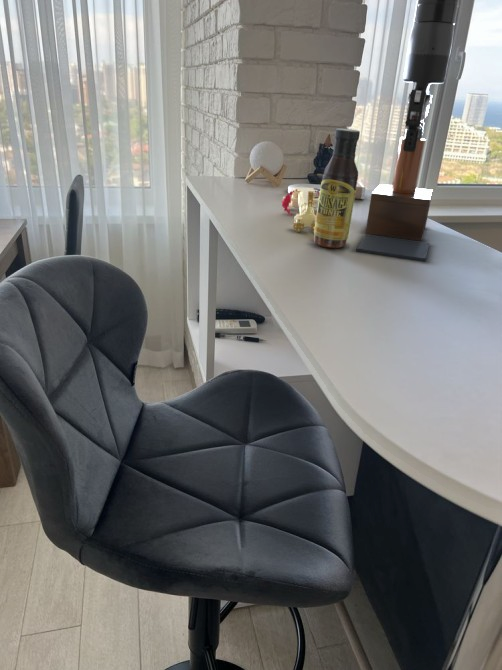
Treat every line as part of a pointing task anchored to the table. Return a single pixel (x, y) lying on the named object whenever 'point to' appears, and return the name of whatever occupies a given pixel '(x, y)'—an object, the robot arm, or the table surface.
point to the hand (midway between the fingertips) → (410, 149)
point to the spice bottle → (408, 166)
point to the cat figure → (302, 207)
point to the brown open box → (398, 213)
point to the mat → (394, 247)
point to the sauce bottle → (337, 192)
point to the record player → (359, 188)
